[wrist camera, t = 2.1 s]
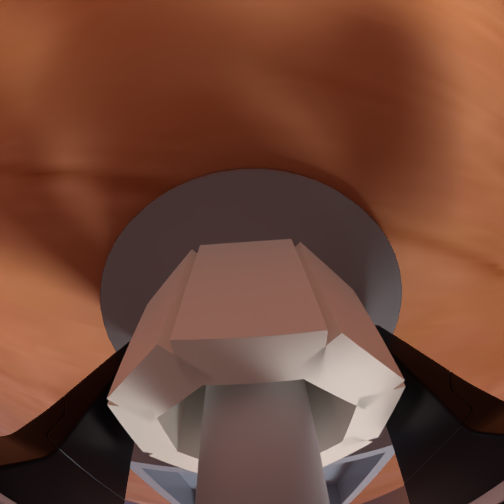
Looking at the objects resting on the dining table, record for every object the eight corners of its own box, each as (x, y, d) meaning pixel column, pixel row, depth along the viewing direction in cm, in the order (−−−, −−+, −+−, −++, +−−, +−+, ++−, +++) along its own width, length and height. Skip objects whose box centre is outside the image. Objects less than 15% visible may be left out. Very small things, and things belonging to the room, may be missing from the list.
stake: (412, 167, 8) (602, 261, 1) (366, 394, 12) (406, 510, 6) (73, 191, 8) (-98, 308, 1) (152, 408, 12) (127, 527, 6)
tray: (386, 399, 13) (404, 441, 10) (342, 479, 19) (347, 504, 16) (133, 415, 13) (121, 459, 10) (189, 489, 18) (187, 515, 16)
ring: (362, 234, 8) (435, 311, 4) (333, 406, 12) (351, 477, 8) (130, 250, 8) (66, 334, 4) (185, 415, 12) (176, 488, 8)
